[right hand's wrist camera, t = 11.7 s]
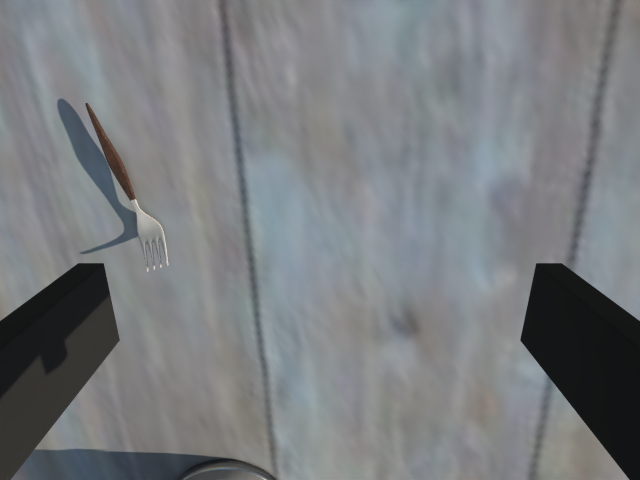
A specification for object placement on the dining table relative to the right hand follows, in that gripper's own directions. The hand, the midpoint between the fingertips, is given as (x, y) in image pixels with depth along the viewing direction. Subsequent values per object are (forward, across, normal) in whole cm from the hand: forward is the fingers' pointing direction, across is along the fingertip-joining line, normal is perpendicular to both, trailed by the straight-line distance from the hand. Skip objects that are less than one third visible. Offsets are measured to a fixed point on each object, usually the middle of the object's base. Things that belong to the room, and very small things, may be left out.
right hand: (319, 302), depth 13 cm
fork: (+27, +18, +3) cm, 33 cm away
